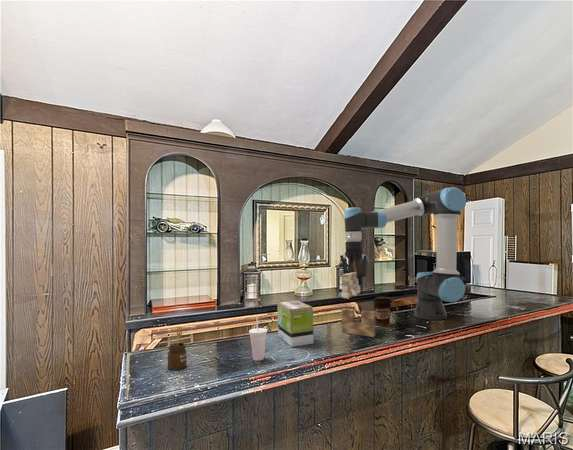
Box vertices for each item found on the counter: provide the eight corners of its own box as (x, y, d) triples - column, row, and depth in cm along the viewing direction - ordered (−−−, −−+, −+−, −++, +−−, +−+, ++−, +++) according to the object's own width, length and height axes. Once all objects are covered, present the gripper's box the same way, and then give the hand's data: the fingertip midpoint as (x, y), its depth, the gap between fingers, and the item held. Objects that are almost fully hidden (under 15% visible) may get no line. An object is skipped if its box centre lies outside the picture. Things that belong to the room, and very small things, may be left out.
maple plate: (354, 293, 149) (353, 272, 149) (359, 294, 147) (358, 272, 148) (342, 297, 138) (341, 274, 139) (347, 298, 137) (346, 274, 137)
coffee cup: (393, 328, 145) (392, 299, 146) (374, 327, 147) (373, 298, 148) (391, 323, 154) (390, 295, 155) (373, 322, 156) (372, 295, 156)
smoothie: (262, 354, 115) (261, 314, 116) (271, 359, 109) (270, 318, 110) (246, 357, 111) (245, 317, 112) (254, 363, 106) (253, 320, 107)
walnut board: (375, 335, 135) (374, 311, 135) (373, 336, 133) (372, 312, 133) (344, 330, 142) (343, 308, 143) (342, 332, 140) (341, 309, 141)
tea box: (277, 337, 135) (276, 301, 136) (298, 334, 139) (298, 299, 140) (291, 347, 122) (290, 308, 122) (314, 343, 125) (313, 305, 126)
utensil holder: (165, 370, 102) (165, 332, 102) (171, 363, 108) (171, 327, 109) (183, 369, 102) (183, 331, 103) (188, 362, 108) (188, 326, 109)
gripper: (334, 241, 149) (336, 292, 148) (366, 240, 140) (368, 294, 139) (341, 241, 155) (343, 290, 154) (372, 240, 146) (374, 292, 145)
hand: (355, 292), depth 146 cm, fingers closed on maple plate, 2 cm apart
